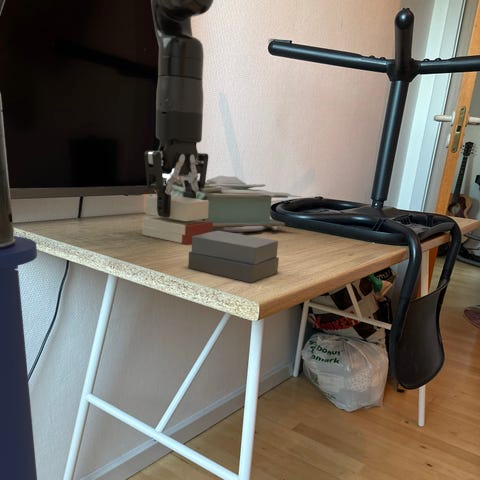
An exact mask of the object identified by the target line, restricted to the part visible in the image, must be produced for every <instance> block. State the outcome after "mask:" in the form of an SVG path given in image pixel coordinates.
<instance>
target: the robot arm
mask: <svg viewBox="0 0 480 480" xmlns="http://www.w3.org/2000/svg"><path fill="white" fill-rule="evenodd" d="M5 2H6V0H0V16H1V15H2V11H3V8H4V5H5ZM213 3H214V0H150V4H151V5H150V6H151V12H152V14H151V15H152V20H153V24H154V31H155V36H156V40H157V45H158V62H157V69H158V70H157V84H156V85H157V86H156V91H155V92H156V93H155V94H156V95H155V138H156V139H157V140H159V146H158V147H157V150H145V151H144V166H145V175H146V176H145V177H146V186H147V189H148V190H154V191H155V192H156V193H157V212H158V215H159V216H161V217H170V207H171V195H169V194H170V192H171V189H172V186H173V183H174V182H176V181H177V179H180V180H181V181H182V184H183V188H184V190H185V191H186V192H183V197H187V198H194V199H196V193H197V192H198V190H199V189H200V188H204V187H205V182H206V181H207V171H208V164H209V154H208V153H205V152H198V147H197V143H201V142H202V139H203V122H204V121H203V118H204V86H203V83H204V82H203V81H204V79H203V78H204V56H205V55H204V53H205V52H204V46H203V43H202V42H201V40H200V39H198V38H197V37H195V36H194V35H193V29H192V19H193V18H195V17H199V16H201V15H204V14H206V13H208V12H209V10H210V9H211V8H212V5H213ZM3 109H4V108H3V99H2V92H1V91H0V250H1V249H6V248H9V247H12V246H14V245H15V237H14V236H15V233H14V232H15V229H14V219H13V210H12V202H11V201H12V200H11V190H10V178H9V166H8V154H7V145H6V132H5V123H4V112H3ZM197 179H199V181H197ZM155 181H156V182H155ZM165 181H166V184H165V185H163V184H164V182H165ZM189 181H190V183H189Z"/></svg>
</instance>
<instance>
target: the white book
mask: <svg viewBox="0 0 480 480" xmlns="http://www.w3.org/2000/svg"><path fill="white" fill-rule="evenodd" d="M208 205H209V201H207V200H200V199H194V198H187V197H180V196H174V195H171V207H170V217H165V218H171V219H176V220H181V221H192V220H200V219H207V218H208ZM145 215H149V216H159V215H158V212H157V196H150V195H146V196H145ZM160 217H161V216H160Z"/></svg>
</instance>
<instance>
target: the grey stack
mask: <svg viewBox="0 0 480 480" xmlns="http://www.w3.org/2000/svg"><path fill="white" fill-rule="evenodd" d="M278 248H279V240H276V239H270V238H264V237H259V236H254V235H247V234H242V233H237V232H225V231H212V232H209V233H205V234H200V235H196V236H192V244H191V249H190V250H191V251H189V252H188V264H187V265H188V266H187V267H188V269H192V270H195V271H199V272H203V273H204V272H205V273H208V274H212V275H216V276H221V277H224V278H229V279H233V280H237V281H241V282H245V283H250V284H251V283H255V282H256V281H260V280H262V279H265V278H268V277H270V276H273V275H277V274H278V270H279V269H278V268H279V260H280V258H279V257H278Z"/></svg>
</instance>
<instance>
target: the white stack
mask: <svg viewBox="0 0 480 480" xmlns="http://www.w3.org/2000/svg"><path fill="white" fill-rule="evenodd" d="M209 232H214V231H213V222H209V221H207V222H206V221H201V220H192V221H181V220H176V219H171V218H165V217H160V216H154V215H151V216H145V217H144V216H143V217H142V226H141V235H142V236H145V237H151V238H156V239H159V240H160V239H161V240H164V241H170V242H174V243H179V244H182V245H192V236H196V235H200V234H205V233H209Z"/></svg>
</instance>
